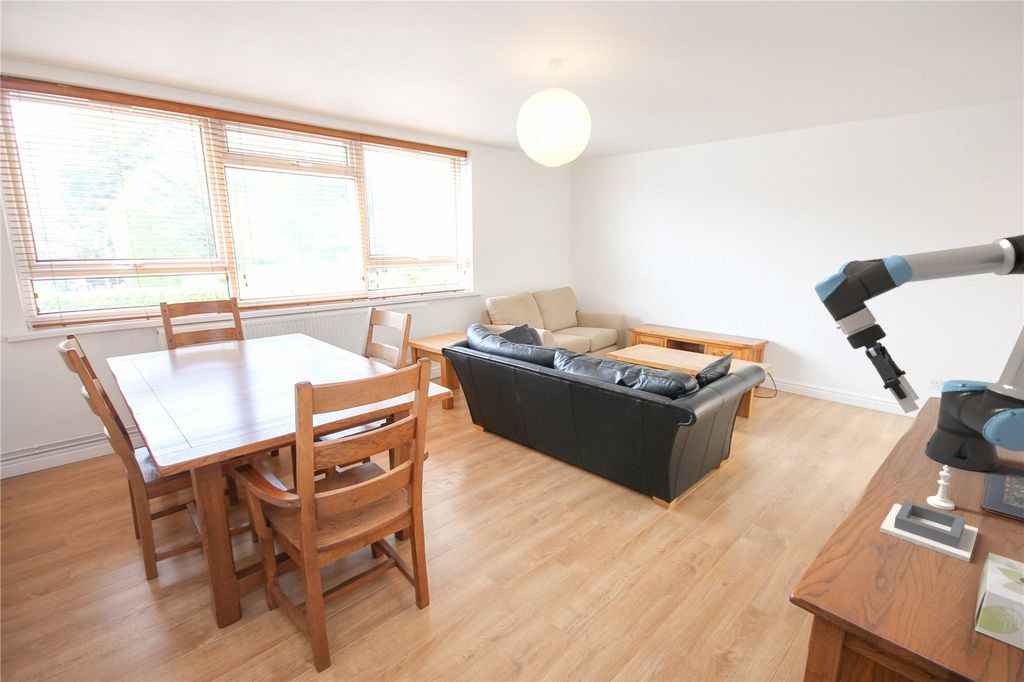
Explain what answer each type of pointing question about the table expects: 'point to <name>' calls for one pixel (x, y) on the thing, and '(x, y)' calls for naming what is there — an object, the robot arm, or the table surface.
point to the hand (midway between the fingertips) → (912, 405)
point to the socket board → (931, 529)
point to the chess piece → (942, 492)
